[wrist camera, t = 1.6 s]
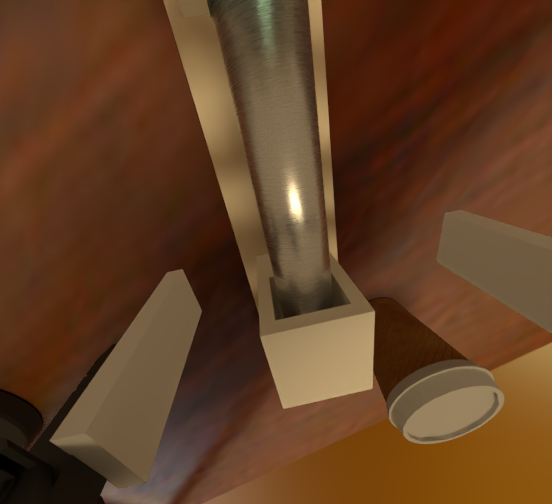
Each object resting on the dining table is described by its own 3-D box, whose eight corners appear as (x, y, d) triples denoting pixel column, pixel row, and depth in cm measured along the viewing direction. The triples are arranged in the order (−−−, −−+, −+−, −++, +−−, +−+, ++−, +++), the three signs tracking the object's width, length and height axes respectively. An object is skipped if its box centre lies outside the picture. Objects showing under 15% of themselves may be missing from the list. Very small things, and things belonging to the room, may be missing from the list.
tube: (329, 331, 21) (346, 371, 17) (288, 340, 21) (296, 382, 17) (293, -21, 10) (319, -122, 6) (207, -3, 10) (181, -94, 6)
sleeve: (326, 297, 26) (372, 388, 16) (271, 310, 26) (283, 408, 16) (320, 239, 22) (375, 310, 12) (256, 253, 22) (260, 336, 12)
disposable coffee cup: (327, 324, 28) (374, 433, 17) (381, 274, 25) (476, 366, 15) (372, 349, 31) (435, 454, 21) (424, 307, 28) (528, 402, 18)
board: (339, 307, 27) (340, 310, 26) (262, 324, 27) (263, 328, 26) (299, -269, 10) (302, -292, 10) (95, -229, 10) (87, -251, 10)
